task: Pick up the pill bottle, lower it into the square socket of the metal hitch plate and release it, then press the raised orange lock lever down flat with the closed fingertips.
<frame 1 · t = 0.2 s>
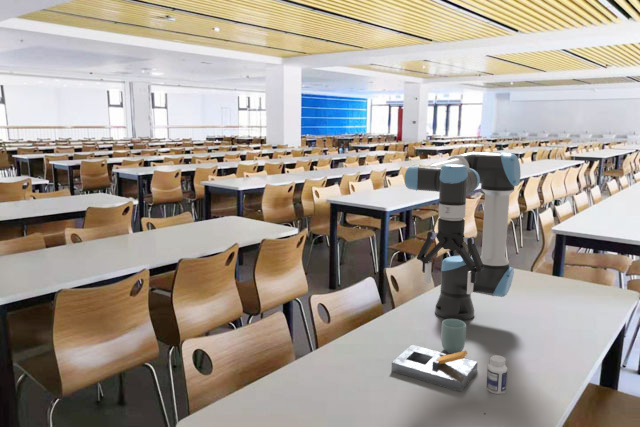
hand: (448, 288, 153), 28 cm above the table, fingers open, 13 cm apart
pill bottle: (495, 390, 149), on the table
lock lever: (450, 358, 156), point 6 cm above the table, hinge at 28.3°
hitch plate: (434, 371, 160), on the table
cup: (452, 351, 173), on the table
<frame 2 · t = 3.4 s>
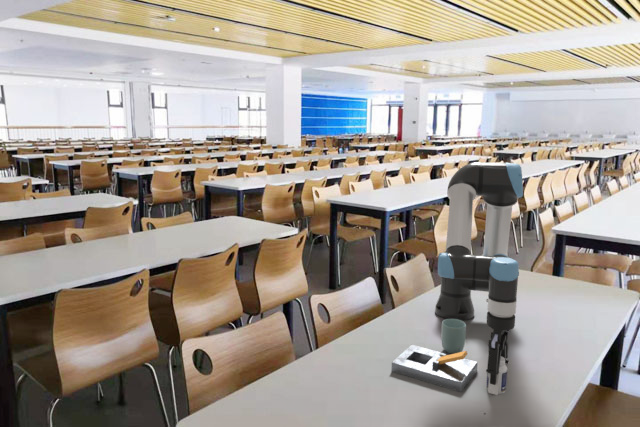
hand: (496, 388, 149), 0 cm above the table, fingers closed on pill bottle, 5 cm apart
pill bottle: (496, 390, 149), on the table, touching gripper
lock lever: (450, 358, 156), point 6 cm above the table, hinge at 27.4°
everything else where it was.
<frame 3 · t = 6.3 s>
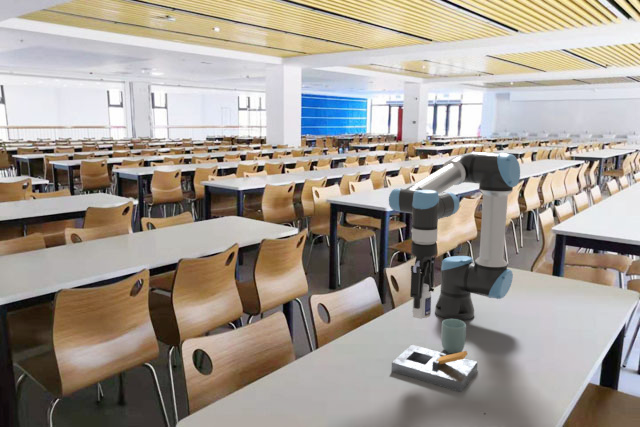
hand: (421, 314, 159), 18 cm above the table, fingers closed on pill bottle, 5 cm apart
pill bottle: (421, 315, 159), point 17 cm above the table, touching gripper
everything else where it was.
when the fingers open (4 cm above the table, at t = 9.1 s): pill bottle drops 3 cm, resting in hitch plate.
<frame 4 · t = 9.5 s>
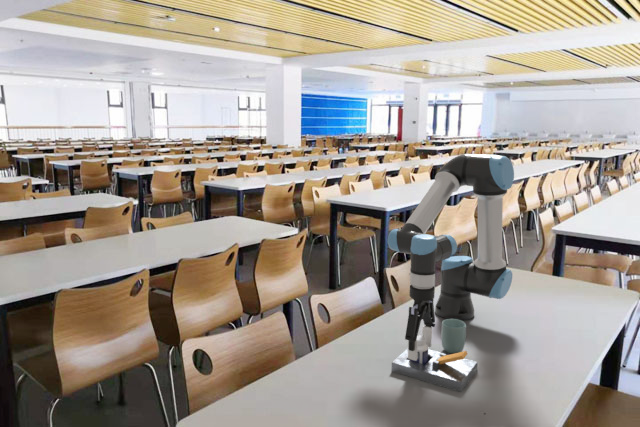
hand: (419, 352, 162), 5 cm above the table, fingers open, 10 cm apart
pill bottle: (419, 367, 163), resting in hitch plate
everything else where it was.
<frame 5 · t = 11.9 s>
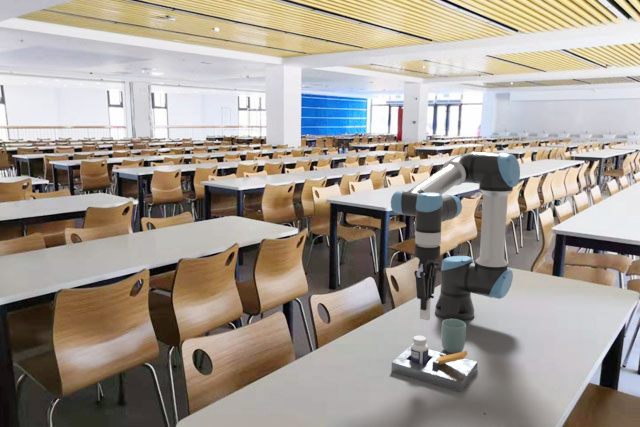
hand: (424, 318, 159), 16 cm above the table, fingers closed
nothing on the table moved.
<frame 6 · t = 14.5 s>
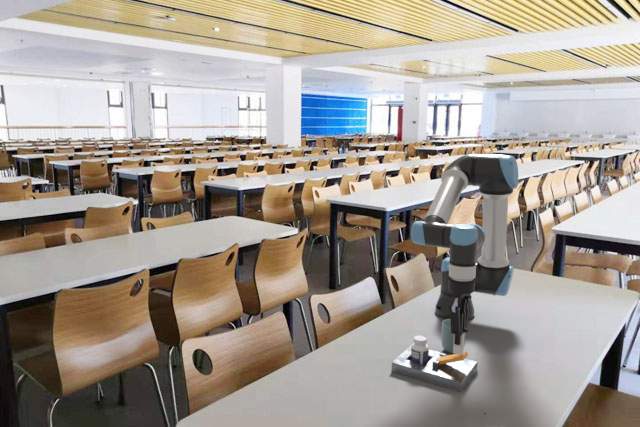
hand: (458, 353, 154), 8 cm above the table, fingers closed
lock lever: (450, 358, 156), point 6 cm above the table, hinge at 25.2°, touching gripper
everything else where it was.
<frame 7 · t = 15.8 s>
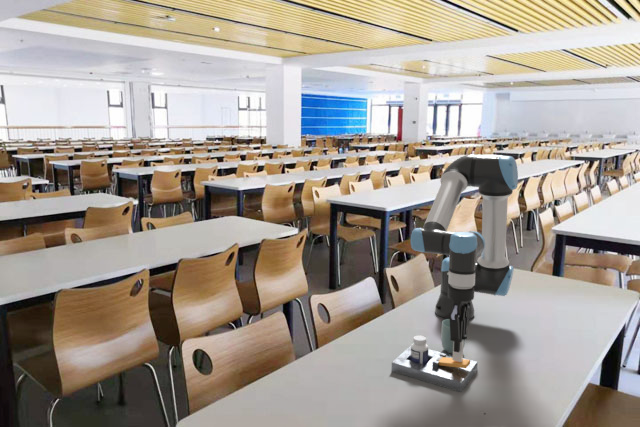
hand: (457, 360, 155), 6 cm above the table, fingers closed
lock lever: (452, 362, 156), point 4 cm above the table, hinge at 9.4°, touching gripper
everything else where it was.
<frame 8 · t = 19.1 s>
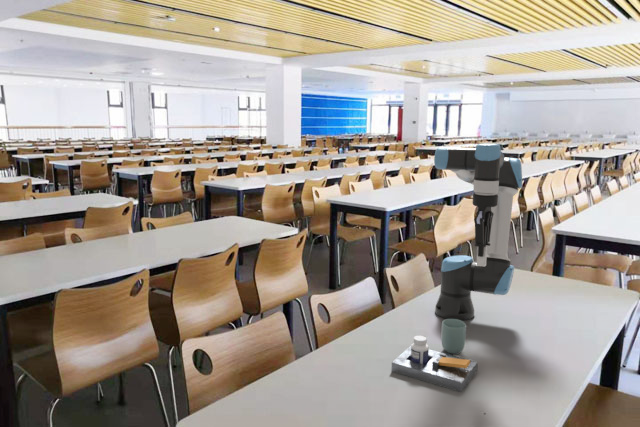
hand: (481, 265, 166), 30 cm above the table, fingers closed
lock lever: (452, 362, 156), point 4 cm above the table, hinge at 9.3°
everything else where it was.
at the end: pill bottle 0.1 cm from the target spot on the hitch plate, point 0.0 cm above the hitch plate's base; pill bottle tilted 0°; lock lever at +9° (first picture: +30°) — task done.
